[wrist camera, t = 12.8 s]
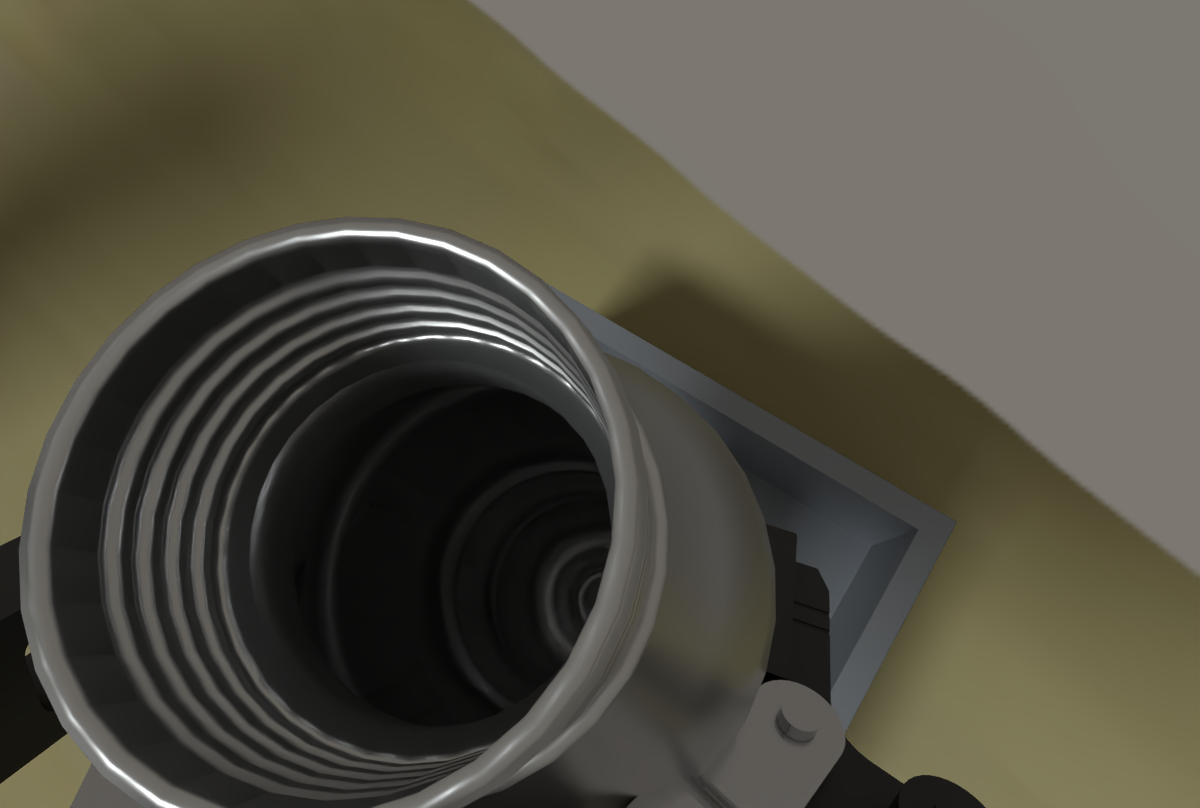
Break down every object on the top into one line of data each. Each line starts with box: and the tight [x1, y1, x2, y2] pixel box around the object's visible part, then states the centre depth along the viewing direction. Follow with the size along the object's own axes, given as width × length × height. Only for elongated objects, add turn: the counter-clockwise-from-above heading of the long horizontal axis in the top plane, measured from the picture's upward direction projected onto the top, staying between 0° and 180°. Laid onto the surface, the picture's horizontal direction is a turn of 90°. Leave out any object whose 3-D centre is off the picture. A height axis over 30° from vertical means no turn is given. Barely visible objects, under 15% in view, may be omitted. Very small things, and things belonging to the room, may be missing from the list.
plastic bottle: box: [19, 217, 776, 808], centre depth 13 cm, size 6×7×20 cm
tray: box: [546, 283, 957, 732], centre depth 22 cm, size 15×15×6 cm
